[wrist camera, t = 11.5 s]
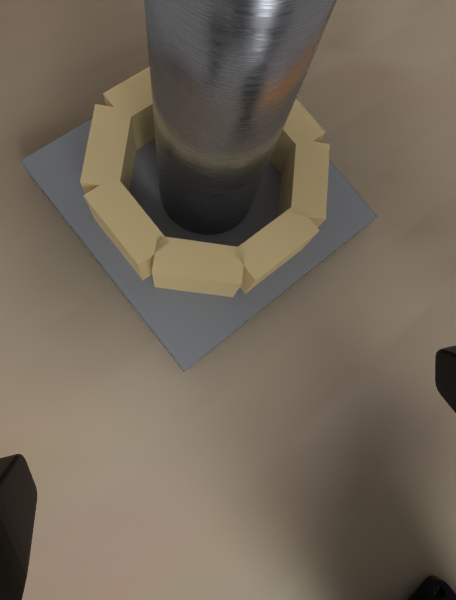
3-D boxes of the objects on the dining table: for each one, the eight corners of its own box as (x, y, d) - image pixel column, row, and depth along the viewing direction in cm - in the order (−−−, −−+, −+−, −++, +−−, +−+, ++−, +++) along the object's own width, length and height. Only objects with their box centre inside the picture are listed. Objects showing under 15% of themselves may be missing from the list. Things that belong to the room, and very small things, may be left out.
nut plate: (368, 223, 21) (405, 193, 18) (183, 371, 19) (186, 369, 15) (222, 53, 22) (231, -6, 19) (27, 172, 20) (-4, 127, 16)
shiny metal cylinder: (271, 200, 20) (440, -131, 7) (199, 253, 19) (249, -22, 6) (213, 132, 20) (277, -295, 8) (139, 180, 19) (72, -219, 7)
